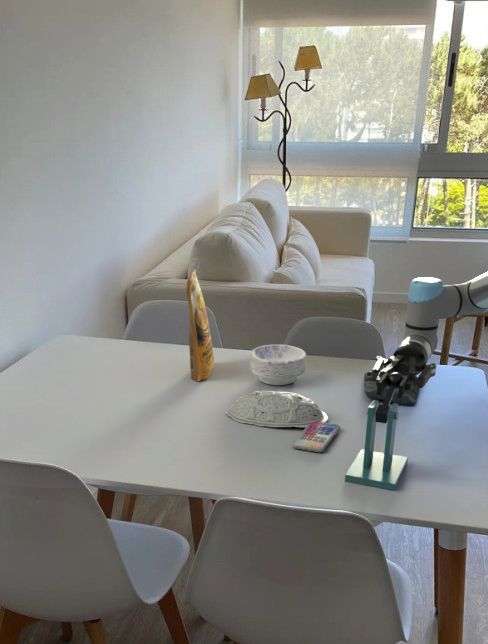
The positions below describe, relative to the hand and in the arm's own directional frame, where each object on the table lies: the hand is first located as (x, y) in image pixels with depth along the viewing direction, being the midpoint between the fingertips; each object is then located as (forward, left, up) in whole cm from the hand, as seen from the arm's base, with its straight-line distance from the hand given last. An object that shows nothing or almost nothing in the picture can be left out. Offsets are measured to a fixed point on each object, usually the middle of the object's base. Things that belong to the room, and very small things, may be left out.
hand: (389, 390), depth 142 cm
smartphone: (+17, 0, -16) cm, 24 cm away
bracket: (-2, +5, -16) cm, 17 cm away
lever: (0, -1, -3) cm, 3 cm away
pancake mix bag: (+68, -14, -16) cm, 72 cm away
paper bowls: (+48, -24, -16) cm, 56 cm away
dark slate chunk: (+21, -38, -16) cm, 47 cm away
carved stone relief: (+32, -4, -16) cm, 36 cm away
